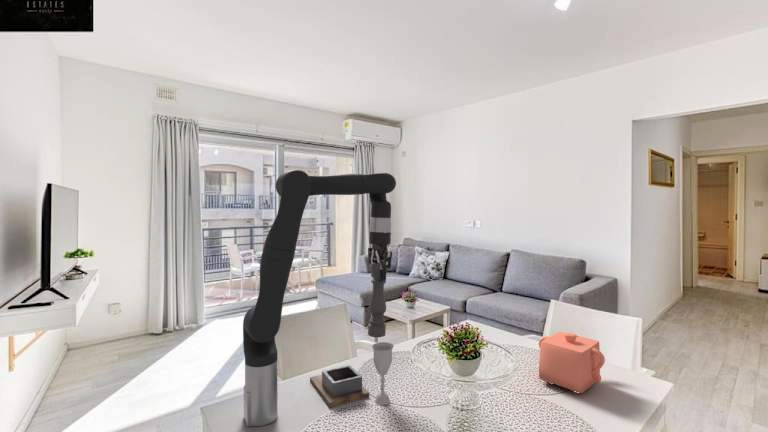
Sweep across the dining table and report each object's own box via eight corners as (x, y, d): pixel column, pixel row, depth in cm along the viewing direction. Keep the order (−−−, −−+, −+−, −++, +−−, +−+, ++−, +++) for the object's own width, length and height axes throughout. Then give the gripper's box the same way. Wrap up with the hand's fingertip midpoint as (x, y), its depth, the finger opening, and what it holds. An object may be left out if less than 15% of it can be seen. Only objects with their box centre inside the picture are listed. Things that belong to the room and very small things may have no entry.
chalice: (380, 393, 128) (380, 340, 128) (397, 399, 124) (397, 345, 124) (367, 402, 122) (367, 347, 122) (384, 408, 118) (384, 352, 118)
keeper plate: (329, 407, 119) (329, 402, 119) (309, 381, 137) (309, 377, 136) (369, 396, 126) (369, 392, 126) (345, 373, 143) (345, 369, 143)
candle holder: (383, 338, 128) (386, 264, 128) (365, 336, 130) (368, 263, 129) (387, 332, 135) (389, 262, 134) (370, 330, 136) (372, 261, 136)
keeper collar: (332, 398, 121) (332, 383, 121) (321, 385, 131) (322, 370, 130) (362, 391, 126) (362, 376, 126) (349, 378, 136) (349, 365, 135)
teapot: (556, 361, 156) (557, 318, 156) (618, 380, 139) (619, 332, 139) (527, 379, 139) (528, 331, 139) (594, 403, 123) (595, 349, 122)
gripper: (361, 229, 136) (360, 276, 136) (380, 231, 124) (378, 283, 124) (380, 229, 140) (378, 275, 140) (400, 232, 127) (398, 282, 127)
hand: (378, 278), depth 132 cm, fingers closed on candle holder, 5 cm apart
